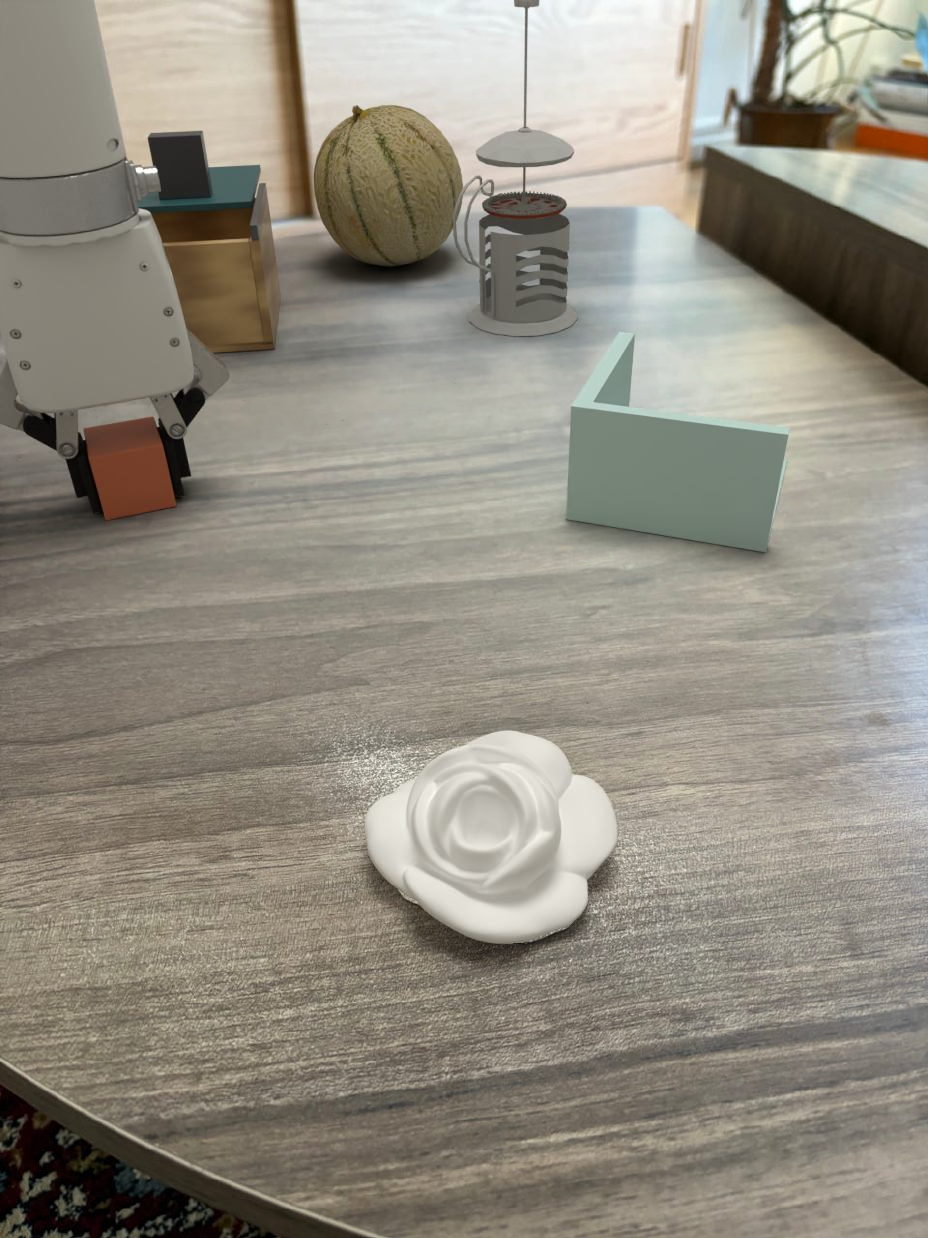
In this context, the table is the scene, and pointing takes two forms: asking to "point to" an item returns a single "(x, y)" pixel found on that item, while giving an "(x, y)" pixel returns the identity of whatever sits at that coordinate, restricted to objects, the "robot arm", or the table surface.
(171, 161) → the sliding door
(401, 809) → the rose
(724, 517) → the l-shaped corner panel
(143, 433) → the block
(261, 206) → the wooden box
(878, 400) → the table surface
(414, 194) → the cantaloupe
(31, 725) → the table surface
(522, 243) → the french press
